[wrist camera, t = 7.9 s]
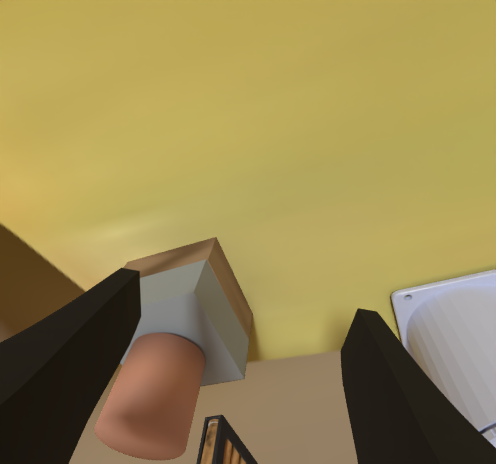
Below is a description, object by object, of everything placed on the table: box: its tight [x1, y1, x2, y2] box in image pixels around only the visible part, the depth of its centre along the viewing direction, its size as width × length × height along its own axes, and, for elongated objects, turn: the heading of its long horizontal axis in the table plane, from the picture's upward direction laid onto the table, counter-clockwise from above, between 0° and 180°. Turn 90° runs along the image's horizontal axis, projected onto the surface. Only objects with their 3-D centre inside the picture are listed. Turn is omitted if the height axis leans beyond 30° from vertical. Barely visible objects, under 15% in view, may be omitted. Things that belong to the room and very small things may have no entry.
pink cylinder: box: [94, 333, 205, 460], centre depth 18 cm, size 4×4×4 cm
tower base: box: [124, 237, 253, 339], centre depth 23 cm, size 7×7×3 cm
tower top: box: [120, 259, 249, 386], centre depth 21 cm, size 7×7×3 cm
